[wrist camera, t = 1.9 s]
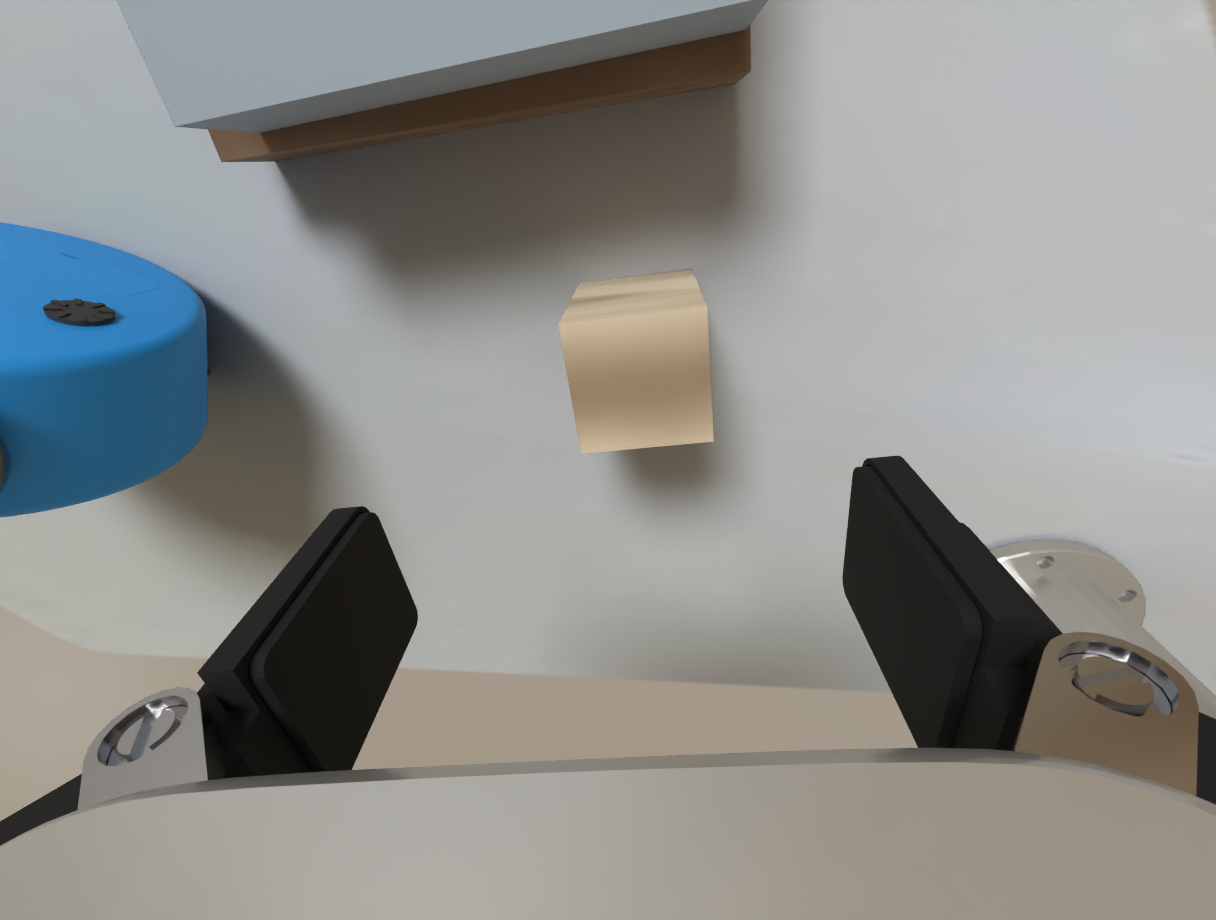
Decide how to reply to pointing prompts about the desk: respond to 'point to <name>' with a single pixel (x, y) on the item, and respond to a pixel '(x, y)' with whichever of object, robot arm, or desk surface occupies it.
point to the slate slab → (385, 49)
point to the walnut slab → (507, 100)
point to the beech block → (639, 362)
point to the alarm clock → (92, 370)
